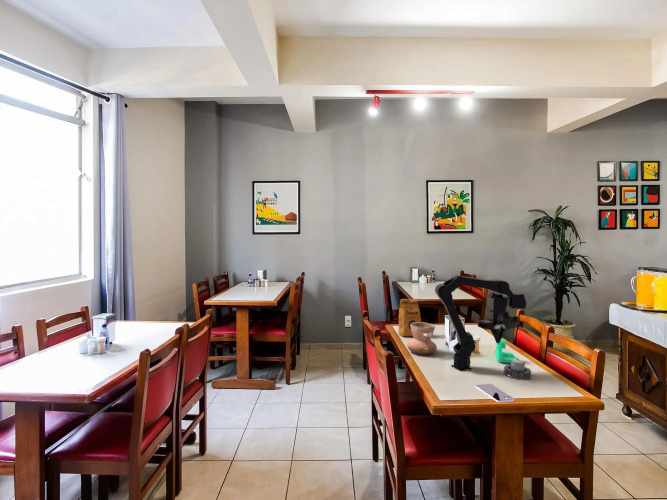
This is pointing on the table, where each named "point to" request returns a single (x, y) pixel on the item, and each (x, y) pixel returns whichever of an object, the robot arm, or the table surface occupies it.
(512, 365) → the cap
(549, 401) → the table surface
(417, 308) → the coffee package
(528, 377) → the dark grey ashtray
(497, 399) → the mobile phone
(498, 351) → the camera mount
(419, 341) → the ceramic jug
